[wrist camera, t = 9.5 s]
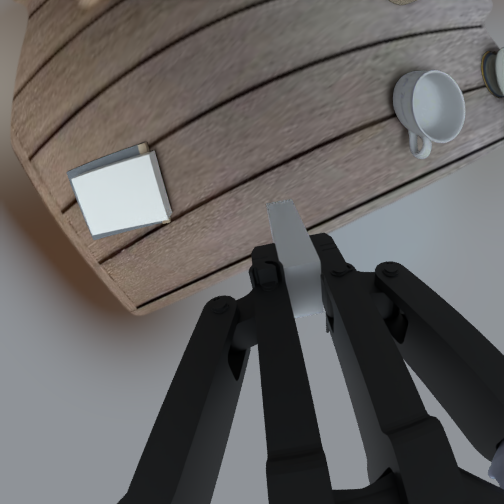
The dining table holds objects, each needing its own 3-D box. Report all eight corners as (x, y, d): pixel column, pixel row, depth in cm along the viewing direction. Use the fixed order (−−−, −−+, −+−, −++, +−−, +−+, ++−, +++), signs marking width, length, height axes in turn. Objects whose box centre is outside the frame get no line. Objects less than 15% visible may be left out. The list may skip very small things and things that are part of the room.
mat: (145, 142, 38) (145, 142, 38) (170, 219, 45) (169, 220, 45) (67, 171, 39) (66, 172, 39) (94, 239, 46) (93, 240, 45)
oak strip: (146, 141, 38) (144, 142, 37) (171, 219, 45) (169, 222, 44) (139, 144, 38) (137, 145, 38) (164, 221, 45) (162, 223, 44)
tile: (148, 154, 36) (71, 179, 37) (168, 219, 41) (92, 235, 42) (154, 150, 38) (79, 174, 39) (172, 212, 43) (99, 228, 44)
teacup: (400, 57, 32) (429, 54, 25) (445, 95, 35) (476, 101, 28) (365, 127, 39) (390, 136, 32) (414, 160, 41) (441, 175, 34)
